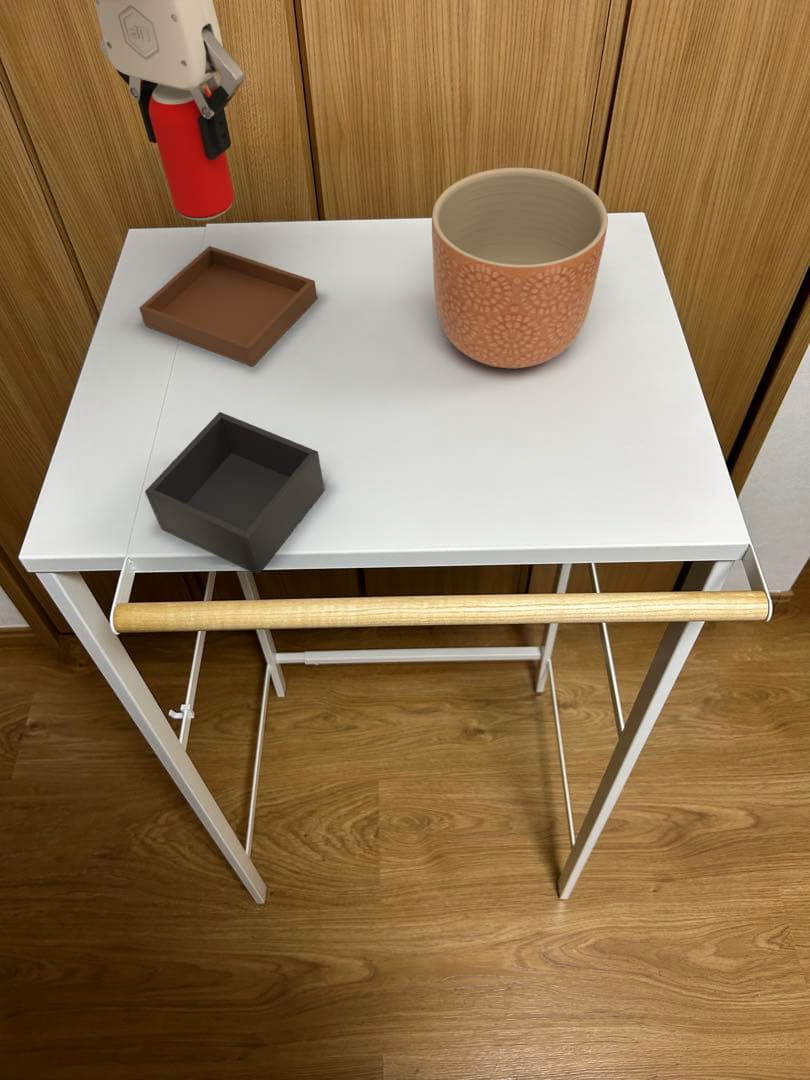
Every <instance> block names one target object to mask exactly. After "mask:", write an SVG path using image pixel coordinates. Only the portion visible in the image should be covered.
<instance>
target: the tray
mask: <svg viewBox="0 0 810 1080" xmlns="http://www.w3.org/2000/svg"><path fill="white" fill-rule="evenodd" d="M316 287H317V286H316V281H315V280H314V279H311V278H308V277H305V276H302V275H299V274H295V273H293V272H290V271H286V270H284V269H282V268H281V269H280V268H278V267H275V266H272V265H268V264H266V263H263V262H259V261H257V260H254V259H251V258H247V257H244V256H241V255H238V254H235V253H232V252H229V251H226V250H223V249H220V248H217V247H214V246H211V245H209V246H207V247H206V248H205V249H204V250H203V251H202V252H201V253H199V254H198V255H197V256H196V257H195V258H194V259H193V260H191V261H190V262H189V263H188V264H187V265H186V266H184V268H182V269H181V270H180V271H179V272H178V273H177V274H176V275H174V276H173V277H172V278H171V279H170V280H169V281H168V282H167V283H165V285H163V286H162V287H161V288H160V289H159V290H157V291H156V292H155V293H154V294H153V295H151V297H149V298H148V299H147V301H145V302H144V303H142V305H140V306H139V308H138V309H139V312H140V315H141V317H142V320H143V323H144V326H145V327H147V328H149V329H152V330H155V331H157V332H159V333H162V334H164V335H168V336H170V337H172V338H176V339H178V340H181V341H184V342H187V343H189V344H192V345H193V346H197V347H200V348H202V349H205V350H207V351H209V352H212V353H215V354H218V355H221V356H223V357H226V358H229V359H231V360H233V361H236V362H239V363H242V364H245V365H247V366H250V367H254V366H255V365H256V364H257V363H259V361H260V360H261V359H262V358H263V357H264V356H265V355H266V353H268V352H269V351H270V349H271V348H272V347H273V346H274V345H275V344H277V342H278V341H279V340H280V339H281V338H282V337H283V336H284V335H285V333H287V332H288V331H289V329H291V327H293V325H294V324H296V322H297V321H298V320H299V319H300V318H301V317H302V316H303V315H304V314H305V313H306V311H308V309H309V308H310V307H311V306H312V305H313V304H314V303H315V302H316V301H317V300H318V295H317V294H318V293H317V288H316Z"/></svg>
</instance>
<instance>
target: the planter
mask: <svg viewBox="0 0 810 1080" xmlns="http://www.w3.org/2000/svg"><path fill="white" fill-rule="evenodd" d="M608 223H609V217H608V212H607V209H606V205H605V204H604V202H603V200H601V198H600V197H599V196H598V195H597V194H596V193H595V191H594V190H592V189H591V188H590V187H588V186H587V185H585V184H584V183H582V182H580V181H579V180H577V179H574V178H572V177H570V176H567V175H565V174H562V173H558V172H556V171H555V172H554V171H552V170H546V169H542V168H533V167H503V168H494V169H487V170H484V171H480V172H477V173H474V174H471V175H468V176H465V177H463V178H461V179H459V180H458V181H456V182H454V183H452V184H451V185H450V186H449V187H447V188H446V189H445V190H444V191H443V192H442V193H440V195H439V197H437V199H436V201H435V203H434V205H433V207H432V212H431V243H432V245H431V246H432V247H431V248H432V268H433V271H432V273H433V289H434V300H435V306H436V311H437V312H436V313H437V316H438V320H439V323H440V326H441V328H442V331H443V332H444V334H445V336H446V337H447V339H448V340H449V341H450V343H451V344H452V345H453V346H454V347H455V348H456V349H457V350H459V352H461V353H462V354H464V355H465V356H467V357H468V358H470V359H471V360H473V361H476V362H477V363H481V364H484V365H486V366H490V367H494V368H500V369H523V368H528V367H533V366H537V365H540V364H542V363H545V362H547V361H549V360H552V359H553V358H555V357H557V356H558V355H560V354H561V353H563V352H564V351H566V349H567V348H569V346H570V345H571V344H572V343H573V342H574V341H575V340H576V338H577V337H578V335H579V334H580V332H581V330H582V328H583V326H584V324H585V321H586V318H587V316H588V313H589V311H590V307H591V303H592V299H593V296H594V291H595V287H596V283H597V278H598V273H599V268H600V264H601V259H602V256H603V251H604V246H605V241H606V236H607V230H608V225H609V224H608Z"/></svg>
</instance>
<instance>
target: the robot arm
mask: <svg viewBox="0 0 810 1080" xmlns="http://www.w3.org/2000/svg"><path fill="white" fill-rule="evenodd" d="M94 5H95V9H96V13H97V18H98V22H99V27H100V31H101V33H102V38H101V40H100V42H99V45H98V46H99V50H100V51H101V52H102V53H103V55H104V56H105V57H106V58H107V60H108V61H109V62H110V63H111V65H112V66H113V67H114V69H115V70H116V72H117V74H118V75H119V76H120V78H122V80H123V81H124V82H125V84H127V85H128V90H129V94H130V96H131V97H132V98H133V99H134V100H137V103H138V107H139V110H140V114H141V117H142V118H141V119H142V121H143V125H144V128H145V132H146V135H147V139H148V142H150V143H153V144H157V141H156V137H155V134H154V130H153V127H152V123H151V119H150V115H149V103H150V99H151V95H152V92H153V90H154V89H155V88H156V87H157V86H158V85H159V84H162V85H165V86H169V87H173V88H177V89H182V90H190V92H191V94H192V96H193V98H194V100H195V102H196V104H197V106H198V108H199V110H200V112H201V114H202V115H201V116H199V117H198V125H199V129H200V133H201V138H202V142H203V146H204V151H205V155H206V157H207V158H208V159H211V160H214V159H216V158H217V157H218V156H219V155H221V154H222V153H223V152H224V151H225V152H226V151H227V150H228V149H229V148H231V146H232V140H231V135H230V131H229V125H228V121H227V115H226V110H225V108H226V107H228V106H229V104H230V101H231V100H232V99H233V97H234V96H235V94H236V92H237V91H238V89H239V88H240V87H241V86H242V84H243V83H244V81H245V80H246V75H245V73H244V71H243V70H242V69H241V68H240V66H239V65H238V63H237V62H236V61H235V60H234V59H233V58H232V56H231V55H230V54H229V53H228V51H227V50H226V49H225V48H224V45H223V40H222V39H223V38H222V33H221V30H220V29H221V28H220V25H219V20H218V17H217V13H216V9H215V5H214V1H213V0H94ZM217 73H218V74H217ZM218 75H219V76H218ZM204 84H206V86H207V87H208V90H209V91H210V94H211V95H210V97H209V98H208V97H207V95H206V93H205V91H204V89H203V87H202V85H203V86H204Z"/></svg>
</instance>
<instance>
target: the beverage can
mask: <svg viewBox="0 0 810 1080" xmlns="http://www.w3.org/2000/svg"><path fill="white" fill-rule="evenodd" d="M202 87H203V89H204V91H205V93H206V95H207V97H208V98H209V97H210V95H211V92H209V90H208V89H207V88H206V87H205V86H204V84H203V85H202ZM149 115H150V119H151V123H152V127H153V130H154V134H155V137H156V141H157V143H156V144H157V148H158V151H159V155H160V160H161V163H162V166H163V170H164V174H165V177H166V181H167V185H168V189H169V192H170V195H171V199H172V203H173V206H174V208H175V209H176V211H177V213H178V214H179V215H180V216H181V217H184V218H186V219H189V220H194V221H208V220H209V221H210V220H214V219H217V218H218V217H220V216H221V215H223V214H225V213H226V212H228V210H230V208H231V207H232V205H233V202H234V199H235V193H234V187H233V184H232V178H231V174H230V169H229V164H228V158H227V154H226V151H224V152H223V153H222V154H221V155H219V156H218V157H217V158H216V159H214V160H211V159H208V158H207V157H206V155H205V151H204V146H203V142H202V138H201V133H200V129H199V125H198V117H199V116H201V115H202V114H201V112H200V110H199V108H198V106H197V104H196V102H195V100H194V98H193V96H192V94H191V92H190V90H182V89H177V88H173V87H169V86H165V85H162V84H158V86H157V87H156V88H155V89H154V90H153V92H152V95H151V99H150V103H149Z"/></svg>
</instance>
